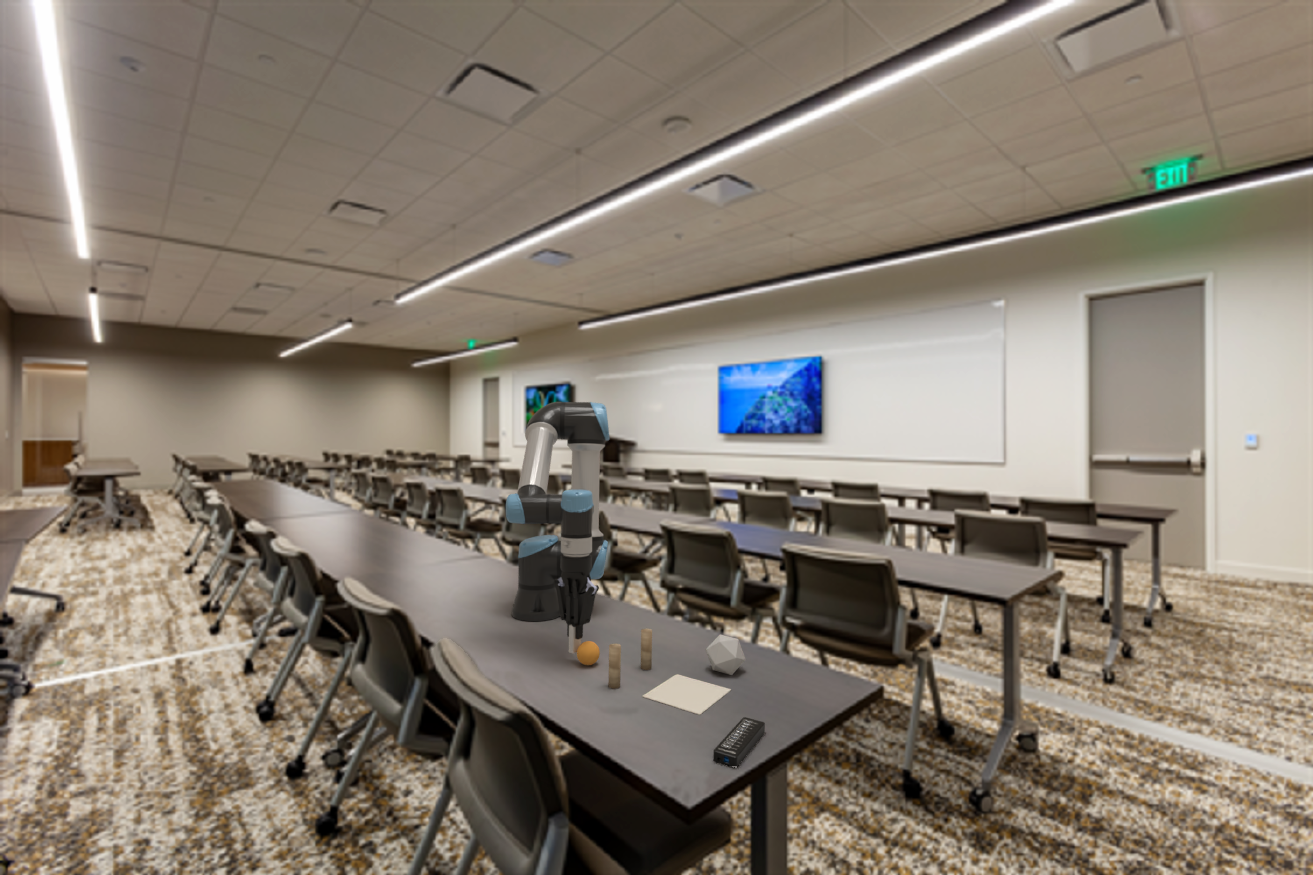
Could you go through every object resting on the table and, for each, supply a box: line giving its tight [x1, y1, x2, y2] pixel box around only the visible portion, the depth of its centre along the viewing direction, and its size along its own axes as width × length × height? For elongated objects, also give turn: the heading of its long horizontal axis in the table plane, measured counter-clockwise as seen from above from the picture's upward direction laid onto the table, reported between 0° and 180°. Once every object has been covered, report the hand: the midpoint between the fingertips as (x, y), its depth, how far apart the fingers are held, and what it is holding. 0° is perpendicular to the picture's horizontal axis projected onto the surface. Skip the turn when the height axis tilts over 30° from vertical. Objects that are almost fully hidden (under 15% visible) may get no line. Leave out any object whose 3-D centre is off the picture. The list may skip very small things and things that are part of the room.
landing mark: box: [641, 673, 732, 716], centre depth 130 cm, size 14×14×1 cm
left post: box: [608, 643, 622, 690], centre depth 133 cm, size 3×3×9 cm
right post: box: [640, 628, 653, 671], centre depth 144 cm, size 3×3×9 cm
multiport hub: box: [712, 716, 766, 767], centre depth 109 cm, size 4×14×2 cm, turn 150°
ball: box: [576, 640, 601, 666], centre depth 145 cm, size 6×6×6 cm
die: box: [705, 634, 747, 676], centre depth 143 cm, size 8×9×10 cm
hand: (574, 651), depth 147 cm, fingers closed
